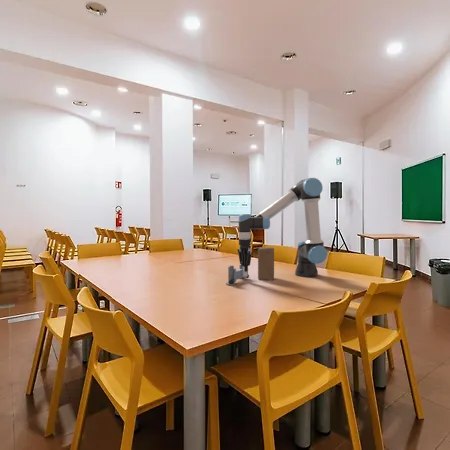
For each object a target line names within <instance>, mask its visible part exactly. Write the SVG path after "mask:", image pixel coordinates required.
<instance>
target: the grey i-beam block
mask: <svg viewBox="0 0 450 450" xmlns="http://www.w3.org/2000/svg"><path fill="white" fill-rule="evenodd" d="M240 278H243V271H242V269H240V268H239V269H237V268H234V283H236V282H237V280H241V279H240ZM244 278H245V279H249V278H250V274H249V270H248V271H247V277H244Z"/></svg>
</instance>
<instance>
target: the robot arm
mask: <svg viewBox="0 0 450 450" xmlns="http://www.w3.org/2000/svg"><path fill="white" fill-rule="evenodd" d="M323 187H324V186H323V184H322V182H321V180H319V178H316V177H308V178H305V179H302V180H300V181H298V182H297V183H296V184H295V185H294V186H292V187H291V188H290V189H288V192H287V193H285V194H284V195H283V196H281V197H280V198H278V199H277V200H275V201H274V202H273V203H272V204H270V205H268V206H267V207H266V208H265V209H263V210H262V211H260V212H259V213H257V215H255V216H251V214H247V213H245V214H243V213H241V214H239V215H238V245H239V249H237V252H238V261H239V266H240V265H242V271H243V277H247V271H248V272H249V266H251V260H252V255H253V250H251V247H250V246H251V245H252V240H251V237H252V235H251V231H252V230H269V229H270V227H271V219H272V218H274V217H275V216H277V215H278V214H279V213H281V212H282V211H284V209H287V208H288V207H289V206H290V205H292V204H293V203H295V202H299V201H300V200H301V202H303V205H304V216H305V217H304V219H305V231H306V232H305V233H306V240H305V241H299V242H298V243H297V265H296V268H295V270H294V271H295V273H294V275H295V276H298V277H303V278H304V277H306V278H311V277H312V278H313V277H314V276H315V277H318V276H317V275H319V271H318V268H317V265H319V264H321V263H323V262H325V261H326V259H327V256H328V251H327V249H326V248H325V244H324V240H322V238H321V224H320V222H321V221H320V210H319V209H320V208H319V201H320V200H321V193H322V192H323ZM316 264H317V265H316Z"/></svg>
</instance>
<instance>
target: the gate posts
mask: <svg viewBox="0 0 450 450" xmlns="http://www.w3.org/2000/svg"><path fill="white" fill-rule="evenodd" d="M234 267H235V266H234V265H228V267H227V268H228V271H227V272H228V273H227V274H228V278H227V279H228V282H226V283H225V285H226V286H237V283H236V282H234ZM239 269H242V265H240V264H239ZM244 279H246V278H244V277H243V278H240V279H239V280H244Z"/></svg>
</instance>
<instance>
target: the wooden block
mask: <svg viewBox="0 0 450 450" xmlns="http://www.w3.org/2000/svg"><path fill="white" fill-rule="evenodd" d="M257 279H258V280H259V281H273V280H275V248H274V247H273V246H272V247H265V246H260V247H258V249H257Z"/></svg>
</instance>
